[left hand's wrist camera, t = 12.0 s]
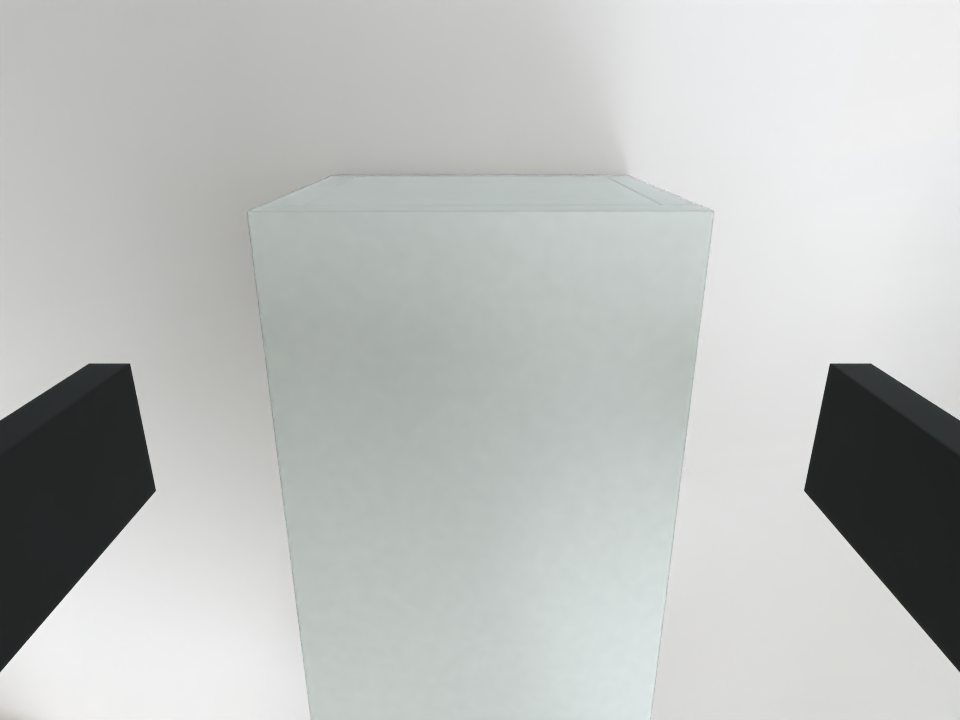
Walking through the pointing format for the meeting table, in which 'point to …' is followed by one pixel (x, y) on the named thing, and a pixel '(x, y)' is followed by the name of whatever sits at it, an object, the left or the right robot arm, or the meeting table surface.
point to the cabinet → (480, 435)
